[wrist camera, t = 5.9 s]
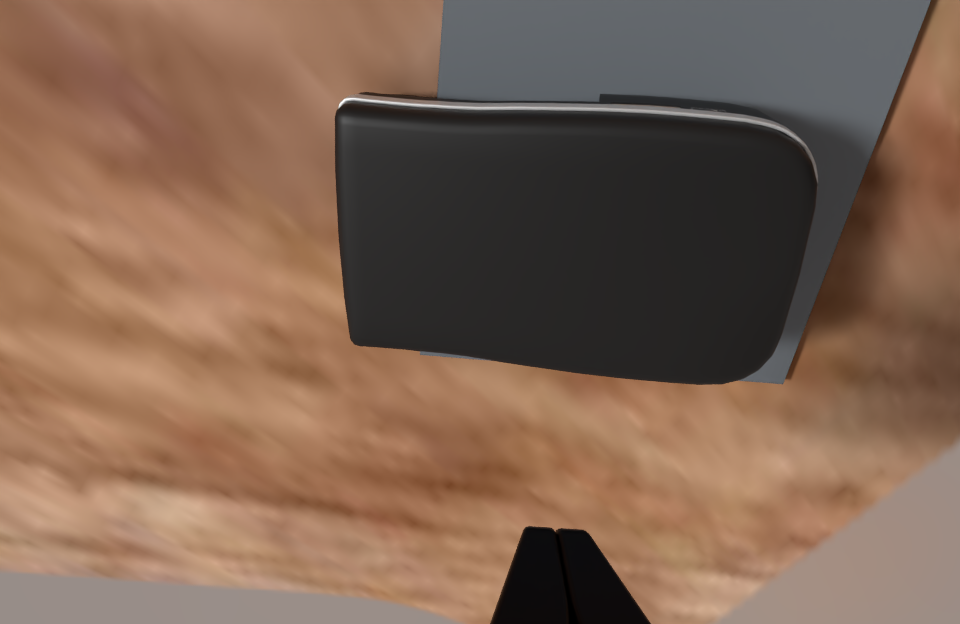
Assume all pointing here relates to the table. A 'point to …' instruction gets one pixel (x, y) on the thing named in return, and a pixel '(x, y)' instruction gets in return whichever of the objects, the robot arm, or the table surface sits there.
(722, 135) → the battery charger
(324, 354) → the table surface
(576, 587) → the robot arm
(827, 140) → the gray mat
